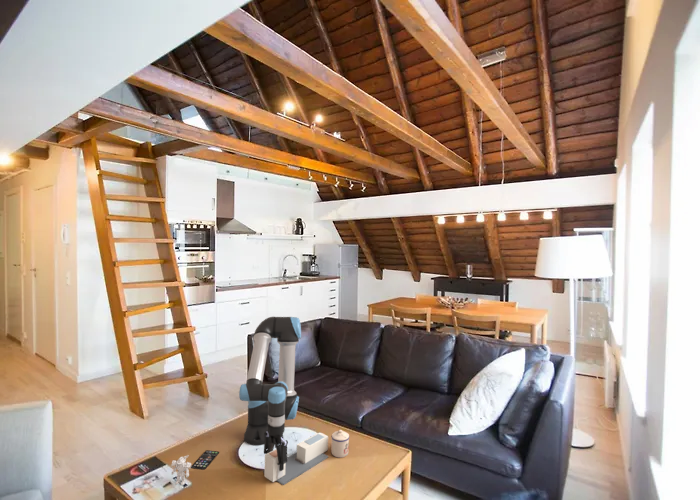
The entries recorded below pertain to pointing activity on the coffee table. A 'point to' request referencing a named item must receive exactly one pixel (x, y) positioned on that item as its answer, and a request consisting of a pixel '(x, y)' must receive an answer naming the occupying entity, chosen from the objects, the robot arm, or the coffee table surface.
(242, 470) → the coffee table surface
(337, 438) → the teacup with lid
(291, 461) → the mat
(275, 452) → the box with pink panel
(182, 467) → the hat wearing toy figure
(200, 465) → the smartphone
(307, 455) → the cream long box
